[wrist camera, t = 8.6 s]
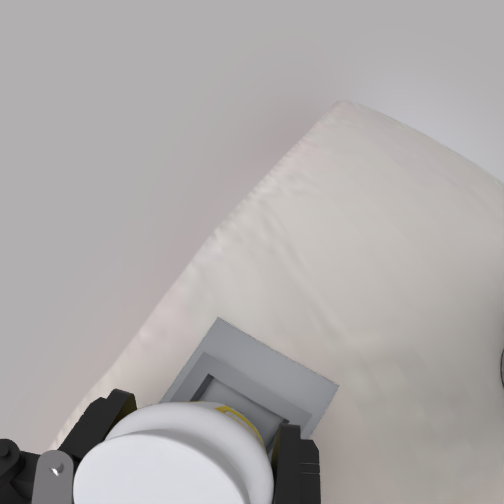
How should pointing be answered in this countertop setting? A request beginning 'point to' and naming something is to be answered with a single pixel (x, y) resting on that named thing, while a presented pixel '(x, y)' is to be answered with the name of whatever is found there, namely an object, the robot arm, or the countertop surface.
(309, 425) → the gray socket holder
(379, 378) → the countertop surface
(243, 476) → the supplement bottle
